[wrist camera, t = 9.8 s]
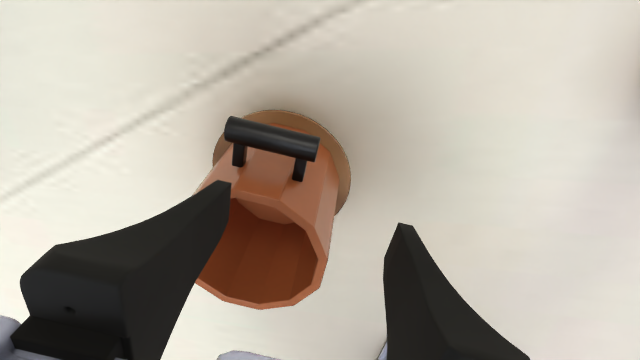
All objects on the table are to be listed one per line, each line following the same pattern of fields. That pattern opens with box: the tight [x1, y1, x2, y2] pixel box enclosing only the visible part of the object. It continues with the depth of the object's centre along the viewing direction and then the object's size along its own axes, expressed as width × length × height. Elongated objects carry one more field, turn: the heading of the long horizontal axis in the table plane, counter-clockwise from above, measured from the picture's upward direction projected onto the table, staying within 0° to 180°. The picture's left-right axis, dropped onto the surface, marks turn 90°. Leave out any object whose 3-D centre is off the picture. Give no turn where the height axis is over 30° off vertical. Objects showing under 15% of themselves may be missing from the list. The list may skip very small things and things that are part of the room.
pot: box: [192, 116, 339, 310], centre depth 22 cm, size 11×8×8 cm
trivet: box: [213, 110, 351, 216], centre depth 26 cm, size 10×10×1 cm
